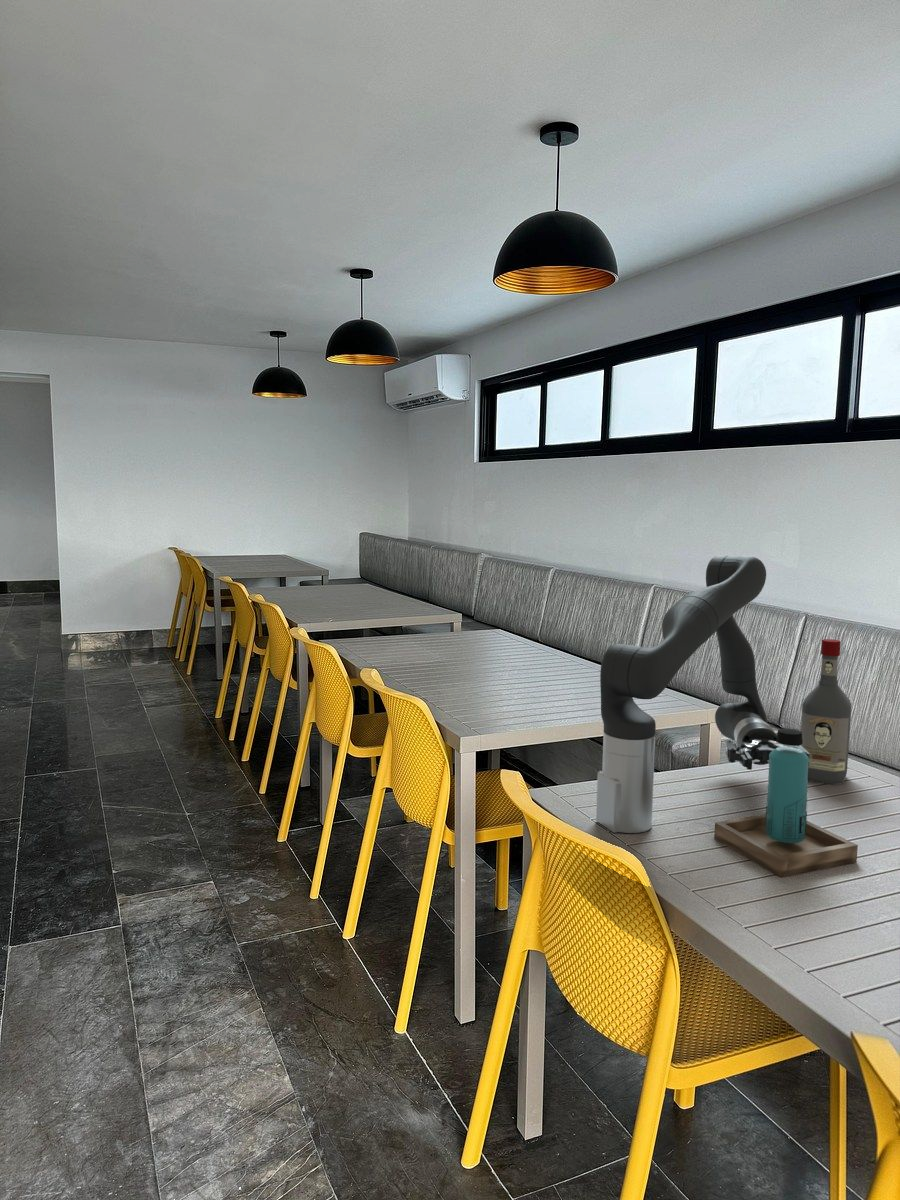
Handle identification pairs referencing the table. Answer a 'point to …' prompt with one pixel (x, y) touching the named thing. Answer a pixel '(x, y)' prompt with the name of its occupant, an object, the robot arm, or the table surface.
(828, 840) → the tray
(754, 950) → the table surface
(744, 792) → the table surface
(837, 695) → the liquor
